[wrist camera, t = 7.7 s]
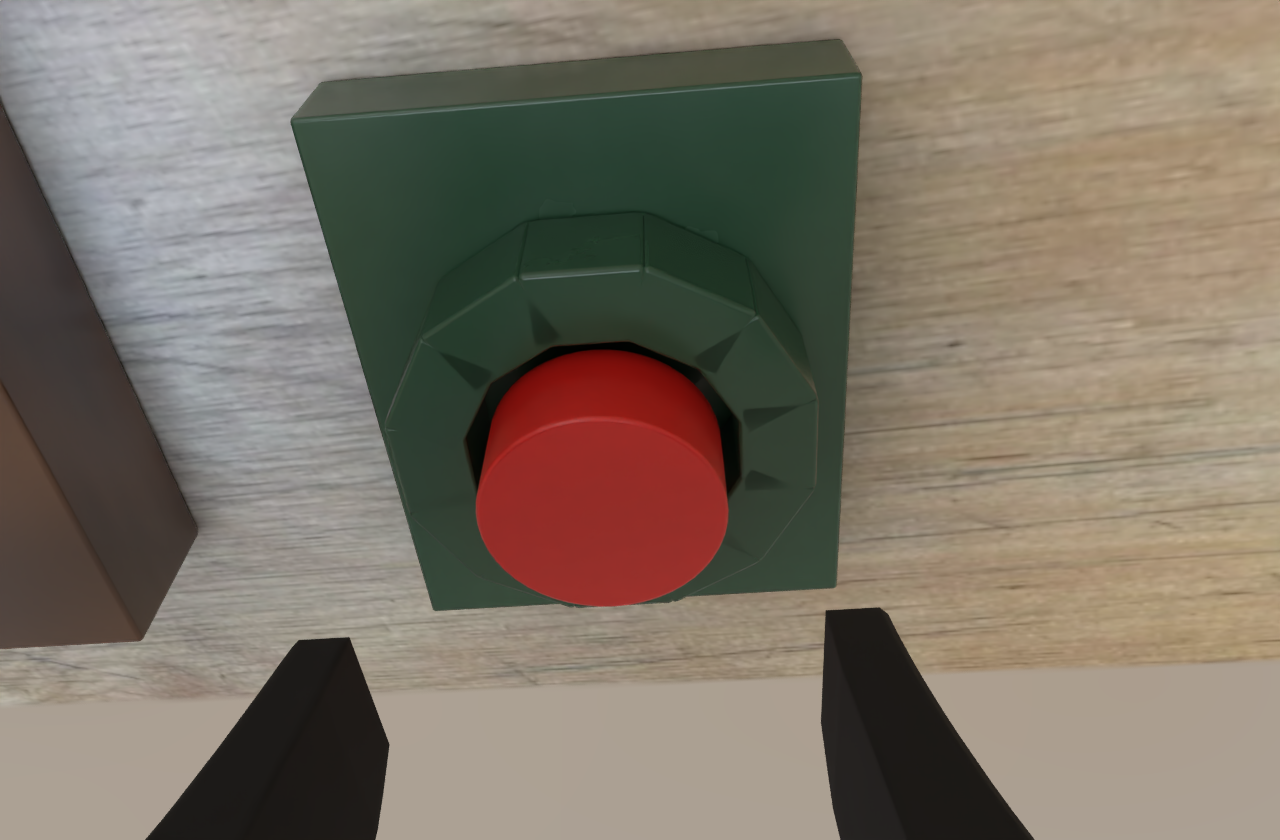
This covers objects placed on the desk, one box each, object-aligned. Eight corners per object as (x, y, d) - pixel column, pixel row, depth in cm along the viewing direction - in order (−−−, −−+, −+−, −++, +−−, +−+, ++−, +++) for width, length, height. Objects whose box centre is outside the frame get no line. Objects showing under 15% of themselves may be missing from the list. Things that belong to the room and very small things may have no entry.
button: (724, 523, 17) (732, 601, 15) (509, 536, 17) (497, 614, 15) (716, 339, 14) (725, 409, 13) (471, 356, 15) (453, 427, 13)
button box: (823, 530, 21) (852, 661, 18) (446, 552, 21) (416, 685, 18) (842, 37, 15) (890, 118, 12) (319, 81, 15) (246, 169, 13)
